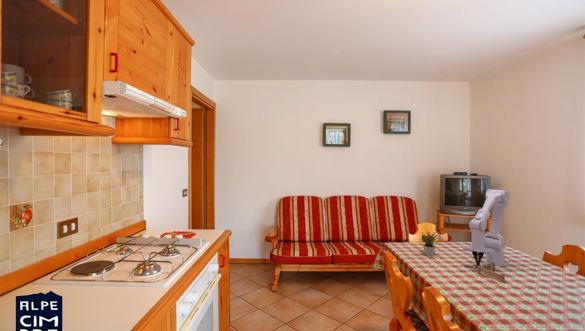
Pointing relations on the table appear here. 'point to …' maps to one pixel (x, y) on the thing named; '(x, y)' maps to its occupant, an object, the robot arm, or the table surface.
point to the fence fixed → (491, 274)
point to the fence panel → (489, 267)
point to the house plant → (429, 244)
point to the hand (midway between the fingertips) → (478, 265)
